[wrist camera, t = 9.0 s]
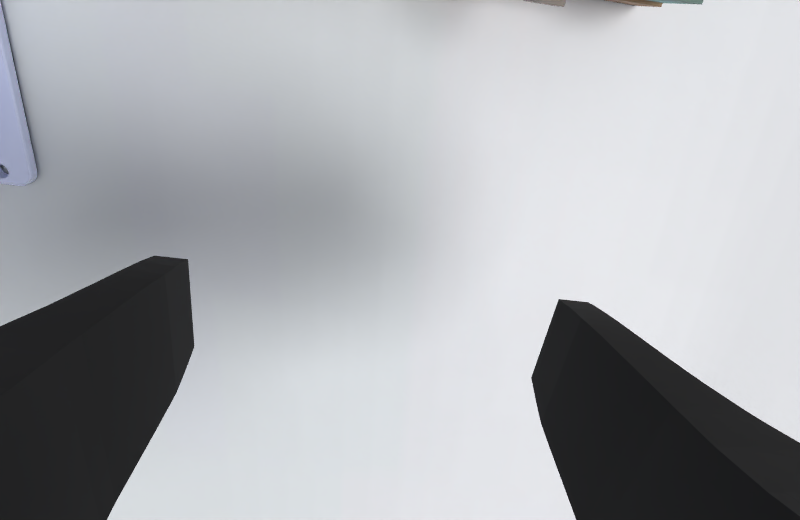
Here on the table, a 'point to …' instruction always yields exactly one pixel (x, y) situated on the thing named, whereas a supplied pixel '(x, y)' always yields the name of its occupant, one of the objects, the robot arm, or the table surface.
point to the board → (656, 2)
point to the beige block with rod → (549, 2)
